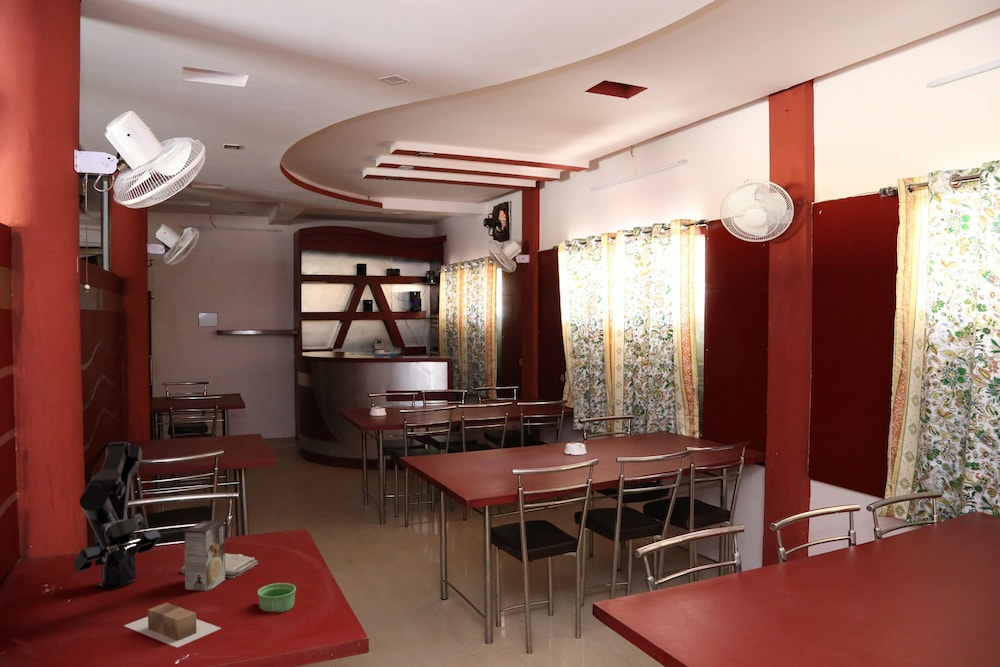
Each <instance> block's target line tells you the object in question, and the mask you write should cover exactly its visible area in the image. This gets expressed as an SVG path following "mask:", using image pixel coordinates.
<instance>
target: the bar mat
mask: <svg viewBox="0 0 1000 667" xmlns="http://www.w3.org/2000/svg"><path fill="white" fill-rule="evenodd" d="M123 627H125V628H128V629H130V630H133V631H135V632H137V633H140V634H143V635H146V636H147V637H149V638H152V639H154V640H155V639H156V640H157V641H160V642H162V643H164V644H167V645H169V646H172V647H175V648H179V647H182V646H184V645H187V644H189V643H191V642H193V641H195V640H198V639H200V638H203V637H205V636H208V635H210V634H211V633H215V632H216V631H218V630H221V629H222V628H221V627H220V626H216V625H214V624H212V623H210V622H209V623H208V622H205V621H203V620H200V619H197V618H196V634H193V635H191V636H188V637H186V638H184V639H181V640H179V641H177V640H174V639H172V638H169V637H167V636H164V635H162V634H159V633H157V632H154V631H152V630H149V629H148V616H145V617H143V618H141V619H138V620H135V621H132V622H129V623H126V624H125V625H123Z"/></svg>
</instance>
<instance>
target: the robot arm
mask: <svg viewBox="0 0 1000 667" xmlns="http://www.w3.org/2000/svg"><path fill="white" fill-rule="evenodd" d="M142 458H143V450H142V448H141V446H139V445H136V444H131V443H130V442H127V441H114V442H109V443H108V445H107V446H106V447H105V459H104V462H103V464H102V466H101V467H102V468H101V470H100V471H99V472H97V473H96V474H94V475H93V476H92V478H91V479H90V481H89V483H88V484H87V485H86V487H85V489H84V492H83V493H82V494H81V496H80V498H79V506H80V507H81V509H82V511H83V513H84V514H85V517H86V519H87V520H88V522H89V524H90V526H91V528H92V530H93V532H94V535H95V536H94V537H93V539H94V542H95V543H94V545H92V546H89V547H85V548H84V547H83V548H81V549H80V551H79V553H78V554H77V556H76V557H75V559H73V560H74V561H73V565H72V566H73V568H74V570H75V572H77V573H79V572H82V571H83V572H84V571H86V570H89V569H90V568H91V566H92V565H93V563H92V562H93V561H94V562H95V563H94V564H95V566H101V582H100V583H96V587H98V588H103V589H107V590H112V591H114V590H117V589H119V588H121V587H124V586H127V585H130V584H133V583H134V582H135V580H136V578H137V575H136V574H137V573H136V560H137V554H143V553H146V552H149V551H151V550H153V549H154V548H155V546H156V545H157V544H158V542H159V541H160V540H161V539H162V536H161V534H160V532H159V530H157V529H150V530H146V531H143V532H141V533H140V534H139V536H138V537H137V538H136V539H134V540H133V539H132V538H133V537H134V536H135V535H134V533H135V532H139V531H140V528H142V527H144V526H145V524H146V523H145V520H144V519H145V518H144V517H143V515H142V514H141V513H136V514H133V515H132V516H130V518H128V519H127V516H128V505H129V496H130V489H131V478H132V477H133V476H134V474H135V473H137V471H138V470H139V465H140V462H142Z"/></svg>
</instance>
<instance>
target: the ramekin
mask: <svg viewBox="0 0 1000 667" xmlns="http://www.w3.org/2000/svg"><path fill="white" fill-rule="evenodd" d="M296 590H297V588H296V585H295V584H292V583H289V582H288V583H286V582H277V583H271V584H268V585H265V586H264V585H263V586H262V587H261V588H259V589H258V590H257V596H258V603H259V604H258V606H259V609H260V610H261V611H263V612H278V614H281V613H284V611H285V612H287V611H290V610H291V609H292V608H293V607H294V605H295V597H296V592H297V591H296ZM280 612H281V613H280Z"/></svg>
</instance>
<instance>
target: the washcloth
mask: <svg viewBox="0 0 1000 667" xmlns="http://www.w3.org/2000/svg"><path fill="white" fill-rule="evenodd" d="M257 564H258V565H259V562H258V560H256V559H255V557H254V556H253V557H250V556H246V555H243V554H242V553H238V554H236V553H235V554H234V553H233V554H232V553H226V552H225V577H228V578H227V579H231V578H234V579H235V578H237V577H236V576H238V577H240V576H241V575H240V574H242V573H243V572H245V571H246V570H248V569H250V568H252V567H254V566H255V565H257ZM258 565H257V566H258ZM254 568H255V567H254ZM252 569H253V568H252ZM180 573H181V574H185V565H183V566H182V567H181V568H180ZM239 575H240V576H239ZM242 575H243V574H242Z"/></svg>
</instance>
